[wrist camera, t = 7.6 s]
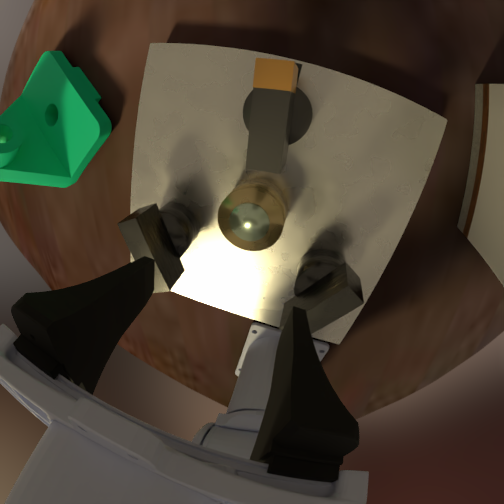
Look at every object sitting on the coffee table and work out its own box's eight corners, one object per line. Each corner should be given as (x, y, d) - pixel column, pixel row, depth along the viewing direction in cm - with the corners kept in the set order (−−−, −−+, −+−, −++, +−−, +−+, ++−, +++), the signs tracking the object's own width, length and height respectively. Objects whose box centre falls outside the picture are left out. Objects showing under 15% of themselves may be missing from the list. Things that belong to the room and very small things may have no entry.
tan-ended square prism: (306, 157, 16) (302, 177, 12) (249, 148, 17) (224, 166, 13) (317, 76, 14) (317, 64, 10) (257, 69, 14) (233, 56, 10)
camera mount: (123, 125, 20) (25, 156, 11) (82, 178, 24) (2, 223, 15) (66, 46, 17) (-21, 53, 8) (34, 102, 20) (-42, 124, 11)
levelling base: (339, 328, 25) (338, 390, 19) (141, 264, 27) (101, 307, 21) (436, 117, 15) (487, 129, 9) (164, 46, 16) (104, 34, 10)
